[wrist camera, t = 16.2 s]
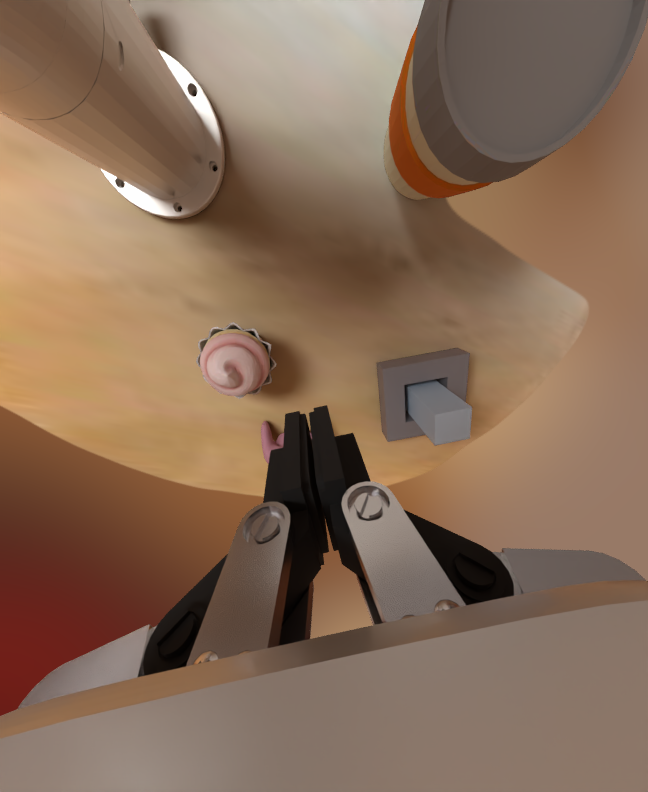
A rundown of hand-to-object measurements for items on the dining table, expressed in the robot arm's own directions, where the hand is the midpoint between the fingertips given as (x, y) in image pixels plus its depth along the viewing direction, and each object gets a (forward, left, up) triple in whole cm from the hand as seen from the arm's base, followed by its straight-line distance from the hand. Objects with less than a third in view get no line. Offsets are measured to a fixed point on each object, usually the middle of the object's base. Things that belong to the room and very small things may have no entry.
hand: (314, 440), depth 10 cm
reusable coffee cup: (-16, +16, -27) cm, 35 cm away
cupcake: (+2, -9, -27) cm, 28 cm away
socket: (+13, +15, -26) cm, 33 cm away
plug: (+13, +15, -26) cm, 33 cm away
